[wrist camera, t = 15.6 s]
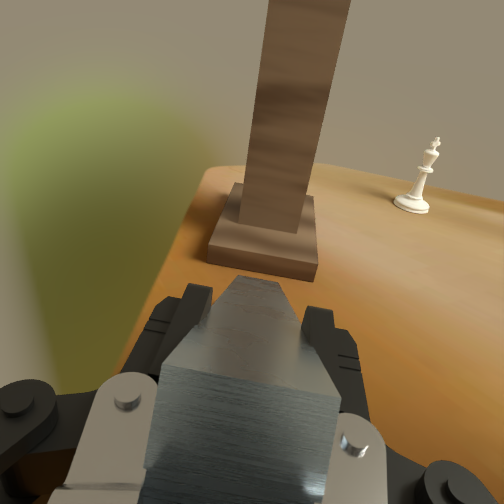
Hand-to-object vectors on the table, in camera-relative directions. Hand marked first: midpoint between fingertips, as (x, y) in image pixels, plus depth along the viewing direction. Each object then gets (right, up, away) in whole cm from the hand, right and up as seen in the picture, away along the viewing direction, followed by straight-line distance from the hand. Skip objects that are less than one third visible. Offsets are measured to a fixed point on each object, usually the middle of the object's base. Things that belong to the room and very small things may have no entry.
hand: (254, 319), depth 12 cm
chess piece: (+23, +9, +44) cm, 50 cm away
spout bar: (0, -3, +6) cm, 6 cm away
